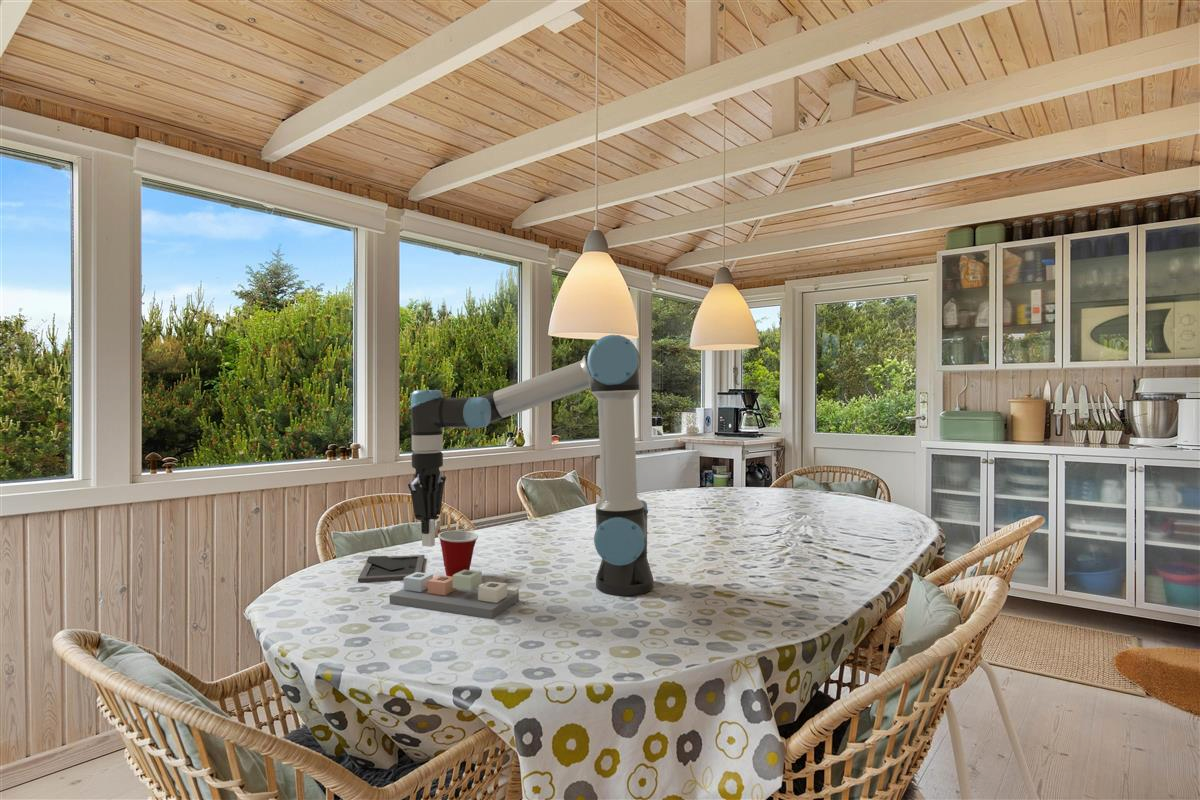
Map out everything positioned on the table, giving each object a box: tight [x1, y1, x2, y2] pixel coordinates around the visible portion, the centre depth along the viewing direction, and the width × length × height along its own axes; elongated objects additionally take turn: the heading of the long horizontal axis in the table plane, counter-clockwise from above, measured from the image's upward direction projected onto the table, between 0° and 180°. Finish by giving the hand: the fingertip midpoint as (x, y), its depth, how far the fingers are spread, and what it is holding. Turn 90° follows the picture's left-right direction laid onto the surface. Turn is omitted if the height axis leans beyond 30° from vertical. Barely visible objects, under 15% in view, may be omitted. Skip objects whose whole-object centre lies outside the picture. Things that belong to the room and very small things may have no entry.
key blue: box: [403, 572, 434, 592], centre depth 153 cm, size 5×5×3 cm
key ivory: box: [478, 581, 508, 603], centre depth 146 cm, size 5×5×3 cm
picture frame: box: [357, 554, 425, 583], centre depth 176 cm, size 16×2×21 cm
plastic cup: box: [437, 530, 479, 577], centre depth 169 cm, size 11×11×12 cm
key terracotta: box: [428, 574, 457, 596], centre depth 151 cm, size 5×5×3 cm
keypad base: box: [389, 576, 520, 620], centre depth 150 cm, size 28×13×3 cm, turn 70°
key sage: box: [453, 570, 483, 590], centre depth 149 cm, size 5×5×3 cm
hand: (428, 545), depth 154 cm, fingers closed
